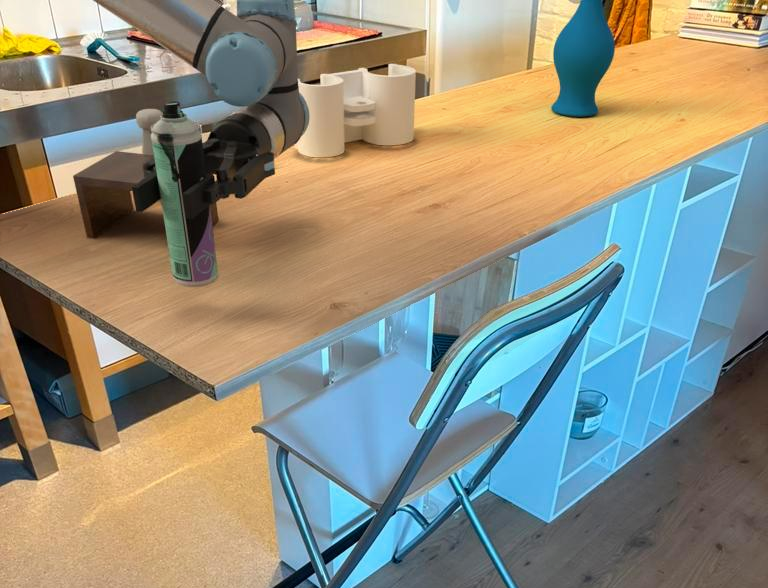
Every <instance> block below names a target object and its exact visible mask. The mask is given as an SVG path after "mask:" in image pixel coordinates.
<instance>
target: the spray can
mask: <svg viewBox="0 0 768 588" xmlns="http://www.w3.org/2000/svg"><path fill="white" fill-rule="evenodd" d="M162 113H163V114H162V115H161V116H160V117H161V119H160V120H159V121H158V122H157V123H155V124H153V125H152V126H151V132H152V134H151V140H152V146H153V152H154V159H155V165H156V171H157V178H158V184H159V190H160V197H161V199H160V202H161V203H160V204H161V209H162V214H163V215H162V217H163V222H164V227H165V228H164V229H165V234H166V241H167V247H168V253H169V254H168V255H169V259H170V266H171V271H172V272H171V273H172V277H173V282H174V283H175V284H177V285H178V286H182V287H184V288H201V287H207V286H210V285H212V284H214V283H215V282H216V281H218V278H219V272H218V271H219V270H218V264H217V263H218V262H217V253H216V246H215V244H216V243H215V237H214V227H213V226H212V219H211V211H210V205H209V206H208V207H207V208H205V209H204V210H203V211H202V212H200V213H199V214H198V215H197V216H195V217H194V218H193V219H188V218H186V215H185V208H184V201H183V193H184V192H185V191H187V190H188V189H189V188H191V187H192V186H194V185H195V184H196V183H198V182H199V181H200V180H202V179H203V178H205V177H206V169H205V160H204V152H203V144H202V143H203V136H202V132H201V131H200V127H201V126H200V124H199V123H198V122H195V121H193V120H191V119H190V118H188V115H187V113H184V111H183V110H182V109H181V104H180V101H171V102H168V103H166V104H164V105H163V111H162Z"/></svg>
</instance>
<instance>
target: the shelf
mask: <svg viewBox="0 0 768 588" xmlns="http://www.w3.org/2000/svg"><path fill="white" fill-rule="evenodd" d="M152 158H154V155H147V154H142V153H137V152H128V151H119V150H116V151H114V152H111V153H110V154H109V155H106V156H105V157H103V158H102V159H100V160H98V161H96V162H94V163H93V164H91V165H89V166H87V167H85V168H84V169H83V170H81V171H79V172H77V173H75V174H73V175H72V178H73V183H74V186H75V192H76V195H77V196H76V197H77V200H78V205H79V208H80V212H81V218H82V221H83V227H84V230H85V235H86V238H90V239H95V238H96V237H98V236H99V235H101V234H102V233H103V232H105V231H106V230H108V229H109V228H111V227H112V226H114V225H116V224H117V223H119V221H121V220H123V219H124V218H125V217H127V216H128V215H129V214H131V213H133V212H134V211H135V209H134V208H135V207H134V203H133V197H132V193H131V192H132V187H133V186H134V185H136V184H137V183H139V182H140V181H141V180H142V179H144V172H143V166H142V164H143V163H145V162H147V161H148V160H150V159H152ZM210 211H211V219H212V227H213V226H214V225H216V224H217V223H219V214H218V213H219V212H218V204H217V202H216V203H214V204H210Z"/></svg>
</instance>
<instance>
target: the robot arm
mask: <svg viewBox="0 0 768 588" xmlns="http://www.w3.org/2000/svg"><path fill="white" fill-rule="evenodd" d="M92 1H93V2H94V3H96V4H97V5H99V6H100V7H102V8H103V9H105V10H107V11H108V12H109V13H111V14H113V15H114V16H116V17H117V18H118V19H120V20H122V21H123V22H124V23H126V24H128V25H129V26H130V27H132V28H133V29H135V30H136V31H138V32H140V33H141V34H143V35H144V36H145V37H147V38H149V39H150V40H152V41H153V42H154V43H156V44H158V45H159V46H160V47H162V48H164V49H165V50H166V51H168V52H170V53H171V54H172V55H174V56H175V57H177V58H179V59H180V60H182V61H183V62H185V63H186V64H188V65H189V66H191V67H192V68H193V69H195V70H196V71H198V72H199V73H201V74H202V75H204V76H205V77H206V79H207V82H208V84H209V86H210V88H211V90H212V91H213V92H214V94H215V95H216V97H218V99H220V100H221V101H222V102H224V103H226V104H228V105H230V106H233V107H239V109H236V111H234V112H232V113H230V114H229V115H228V116H226V117H225V118H223V119H222V120H220V121H218V122H217V123H215V125H214V126H213V127H212V129H211V130H210V133H209V135H208V137H207V139H206V140H205V141H204V142H202V144H203V152H204V160H205V169H206V177H205V178H203V179H202V180H200V181H199V182H198V183H196V184H195V185H194V186H192V187H191V188H189V189H188V190H187V191H185V192H184V193H183V201H184V208H185V215H186V218H188V219H193V218H194V217H195V216H197V215H198V214H199V213H200V212H202V211H203V210H204V209H205V208H207V207H208V206H209V205H210V204H214V203H217V202H219V201H220V200H222V199H223V200H224V199H228V198H229V197H230V195H234V198H235V199H238V200H240V199H244V198H246V197H247V196H248V195H249V194H250V193H251V192H252V191H254V190H255V189H256V188H257V187H258V186H259V185H260V184H261V183H262V182H263V181H264V180H265V179H267V178H269V177H272V176H274V175H276V167H275V159H277V158H278V157H279V156H280V155H282V154H283V153H284V152H286V151H287V150H289V149H291V148H292V147H293V146H295V144H296V143H297V142H298V141H299V140H300V138H301V136H302V135H303V134H304V133H305V131H306V130H307V127H308V124H309V118H310V114H309V108H308V105H307V103H306V101H305V99H304V97H303V96H302V95H301V94H300V93H299V86H298V78H299V73H298V72H299V70H298V44H297V43H298V42H297V26H298V21H297V19H296V9H295V1H294V0H236V15H235V14H234V13H233V12H231V11H229V10H228V9H226V8H225V7H223V6H222V5H221V4H220V3H218V2H217V1H216V0H92ZM142 166H143V172H144V179H142V180H141V181H140V182H139V183H137V184H136V185H134V186H133V187H132V191H131V192H132V198H133V202H134V203H133V204H134V208H135V209H134V210H135V212H136V213H137V212H138V213H143V212H145V211H146V210H148V209H149V208H150V207H152V206H153V205H155V204H156V203H157V202H159V201H161V197H160V190H159V184H158V178H157V171H156V165H155V159H154V158H152V159H150V160H148V161H147V162H145V163H143V164H142ZM215 177H216V178H215Z"/></svg>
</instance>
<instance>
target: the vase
mask: <svg viewBox="0 0 768 588" xmlns="http://www.w3.org/2000/svg"><path fill="white" fill-rule="evenodd" d="M603 6H604V5H603V0H580V2H579V4H578V6H577V8H576V10H575V12H574V13H573V15H572V16H571V18H570V19H569V21H567V23H566V25H565V26H564V27H563V28H562V29H561V31H560V33H559V34H558V35H557V37H556V39H555V42H554V45H553V51H552V52H553V53H552V54H553V57H552V58H553V65H554V68H555V71H556V74H557V78H558V81H559V82H558V83H559V93H558V96H557V99H556V100H555V101H554V102H553V104H552V105H551V107H550V109H551V110H552V111H553V112H554V113H556V114H558V115H562V116H565V117H573V118H584V117H585V118H586V117H592V116H596V115H597V114H598V113H599V110H600V109H599V106H598V105H597V103H596V91H597V89H598V86H599V84H600V83H601V81H602V79H603V78H604V76H605V75H606V74H607V72H608V70H609V69H610V67H611V66H612V65H611V64H612V63H613V60H614V56H615V50H616V45H615V37H614V35H613V32H612V30H611V28H610V26H609V23H608V21H607V19H606V16H605V11H604V7H603Z"/></svg>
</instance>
